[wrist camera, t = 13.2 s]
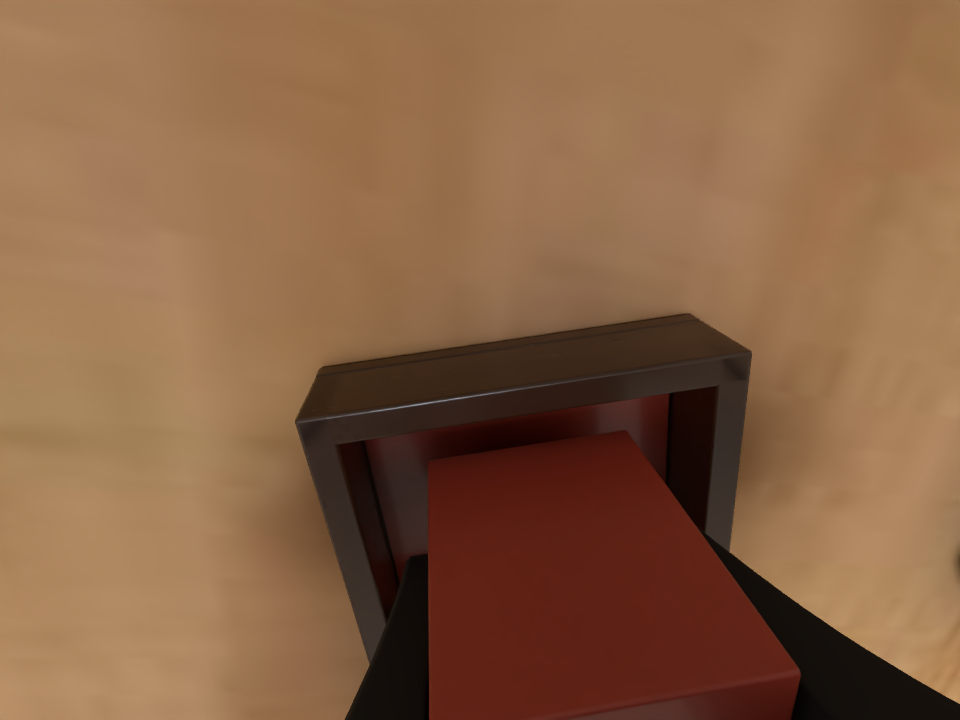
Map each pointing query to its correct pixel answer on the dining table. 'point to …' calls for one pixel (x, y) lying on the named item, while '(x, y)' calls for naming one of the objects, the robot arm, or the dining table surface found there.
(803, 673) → the robot arm
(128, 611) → the dining table surface
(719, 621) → the brick-red block
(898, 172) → the dining table surface
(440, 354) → the tray
